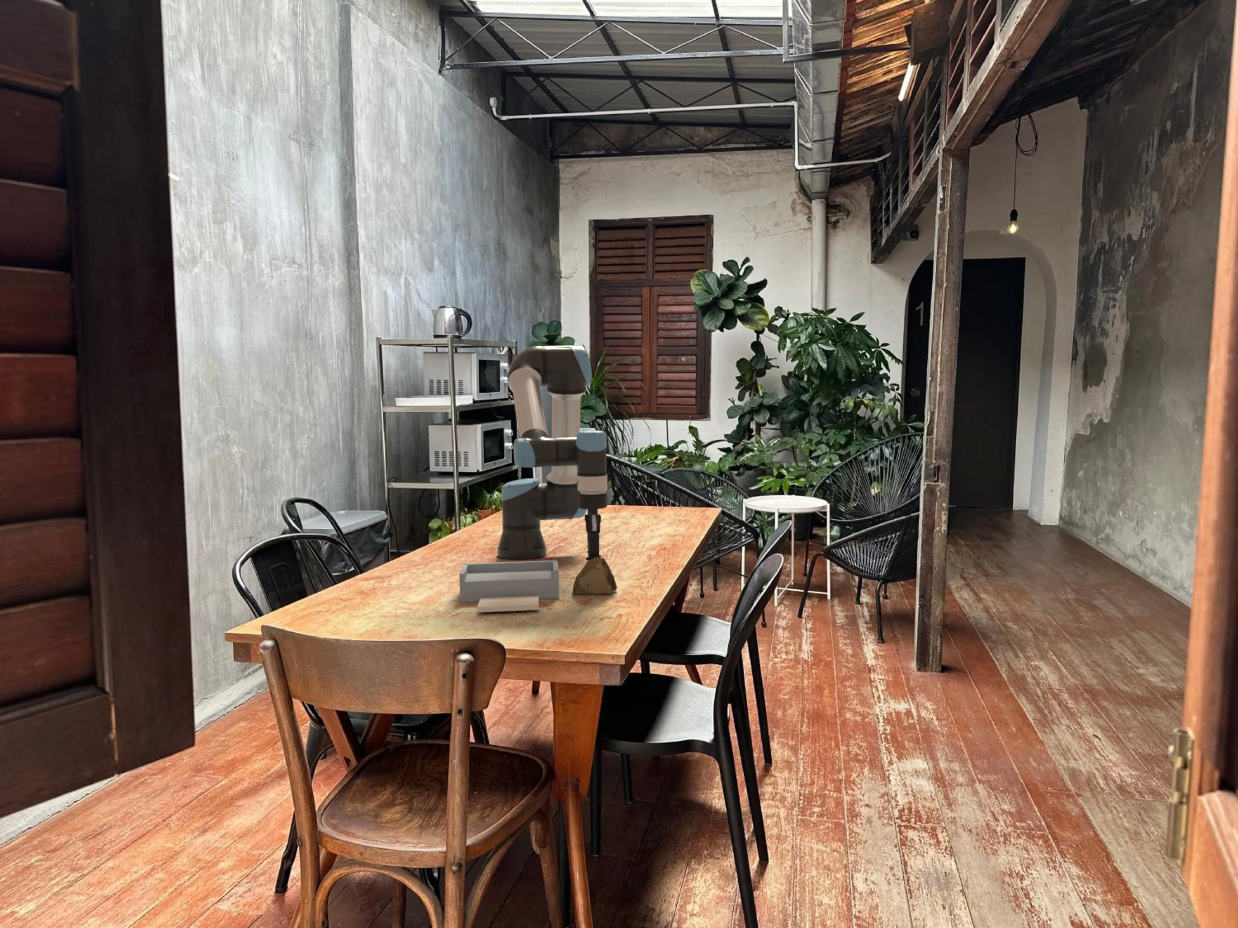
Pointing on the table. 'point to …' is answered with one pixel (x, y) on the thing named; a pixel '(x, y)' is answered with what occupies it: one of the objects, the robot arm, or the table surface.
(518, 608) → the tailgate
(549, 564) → the bed
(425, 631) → the table surface
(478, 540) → the table surface
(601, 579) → the rock
